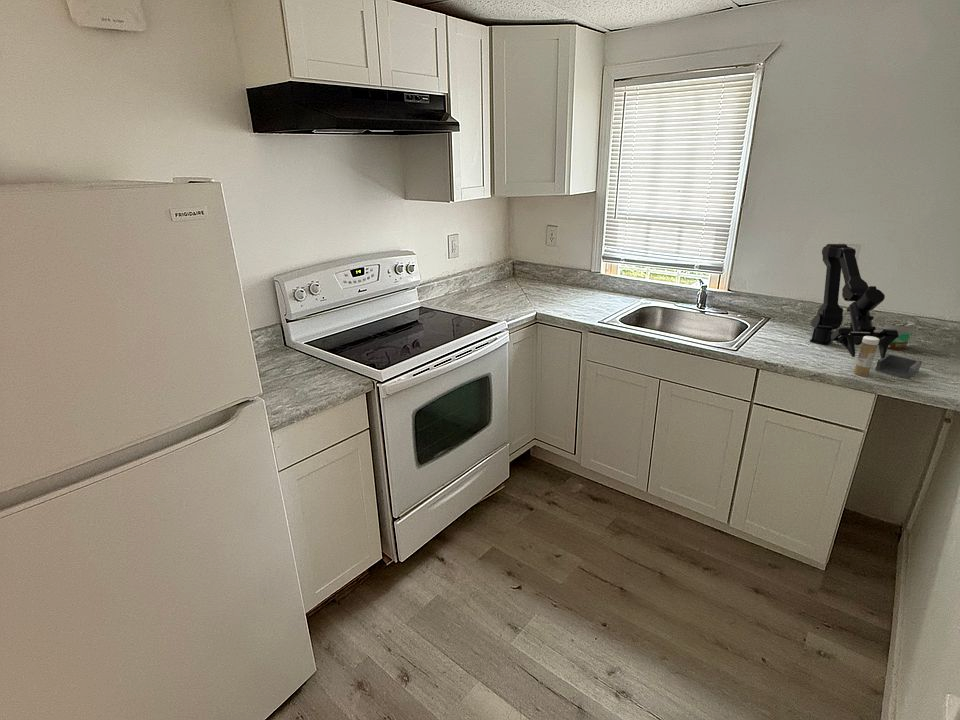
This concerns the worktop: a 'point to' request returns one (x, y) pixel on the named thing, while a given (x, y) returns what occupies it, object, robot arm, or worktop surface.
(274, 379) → the worktop surface
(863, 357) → the sprinkles bottle
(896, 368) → the dark grey shallow tray
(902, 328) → the food container
